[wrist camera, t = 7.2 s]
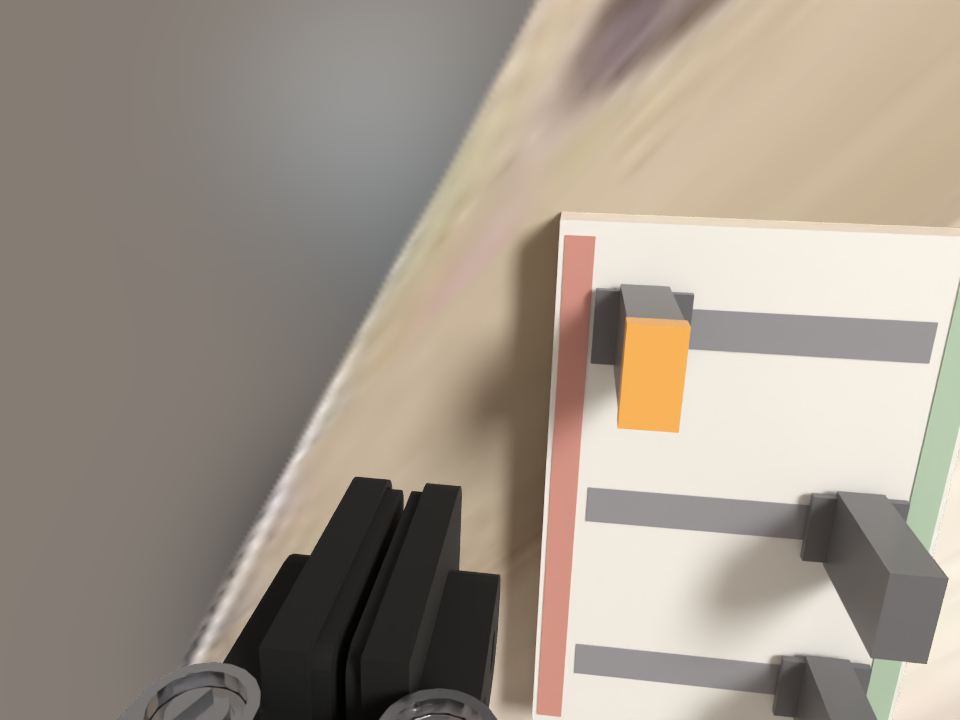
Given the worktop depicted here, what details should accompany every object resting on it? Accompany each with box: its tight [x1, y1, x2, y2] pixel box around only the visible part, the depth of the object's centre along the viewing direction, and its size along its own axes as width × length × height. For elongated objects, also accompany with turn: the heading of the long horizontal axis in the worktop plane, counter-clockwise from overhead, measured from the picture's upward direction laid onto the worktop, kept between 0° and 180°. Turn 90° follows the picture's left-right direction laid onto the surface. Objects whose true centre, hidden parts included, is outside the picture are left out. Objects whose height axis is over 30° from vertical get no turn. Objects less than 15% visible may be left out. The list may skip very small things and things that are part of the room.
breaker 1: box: [800, 491, 949, 664], centre depth 25 cm, size 3×3×5 cm
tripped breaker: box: [591, 284, 694, 433], centre depth 24 cm, size 3×3×5 cm
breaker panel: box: [532, 211, 960, 720], centre depth 29 cm, size 14×21×2 cm, turn 179°
